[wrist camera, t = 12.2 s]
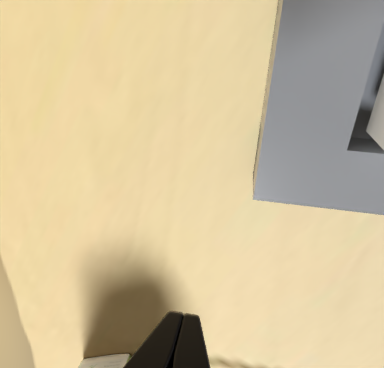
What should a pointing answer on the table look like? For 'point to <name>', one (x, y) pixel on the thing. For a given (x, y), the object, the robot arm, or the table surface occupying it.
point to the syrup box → (106, 361)
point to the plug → (377, 118)
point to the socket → (322, 107)
